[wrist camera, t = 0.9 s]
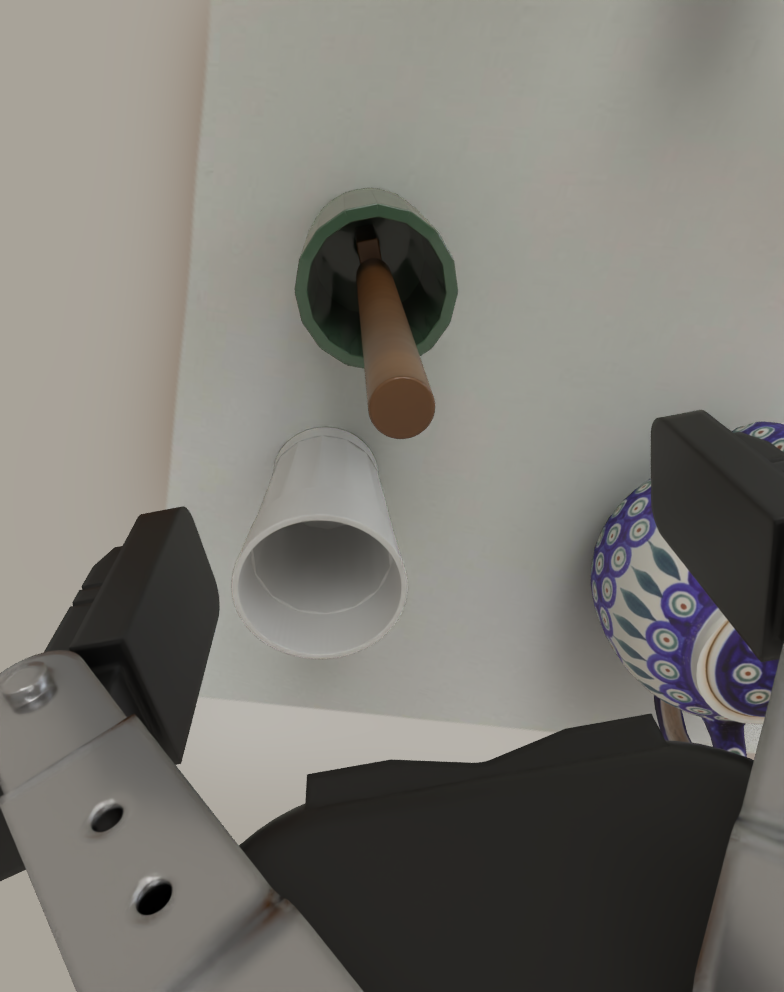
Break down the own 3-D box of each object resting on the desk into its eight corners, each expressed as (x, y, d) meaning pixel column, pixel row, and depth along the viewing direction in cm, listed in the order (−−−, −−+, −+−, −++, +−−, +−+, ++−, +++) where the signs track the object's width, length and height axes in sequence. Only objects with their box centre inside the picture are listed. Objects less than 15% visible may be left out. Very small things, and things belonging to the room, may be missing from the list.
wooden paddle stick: (348, 229, 35) (355, 350, 16) (379, 222, 35) (425, 337, 16) (360, 292, 37) (381, 474, 17) (390, 286, 37) (444, 462, 17)
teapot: (725, 683, 52) (852, 867, 39) (533, 673, 51) (599, 862, 38) (869, 361, 41) (1115, 469, 28) (627, 335, 39) (768, 437, 26)
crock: (292, 201, 35) (277, 222, 27) (421, 176, 35) (445, 189, 27) (321, 330, 38) (316, 382, 30) (440, 307, 38) (466, 353, 30)
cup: (247, 516, 43) (216, 641, 33) (275, 398, 40) (251, 496, 29) (370, 544, 45) (379, 673, 34) (408, 433, 41) (431, 537, 31)
